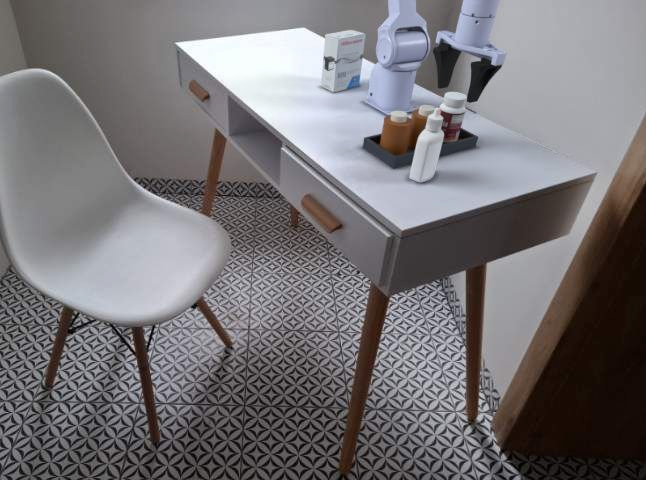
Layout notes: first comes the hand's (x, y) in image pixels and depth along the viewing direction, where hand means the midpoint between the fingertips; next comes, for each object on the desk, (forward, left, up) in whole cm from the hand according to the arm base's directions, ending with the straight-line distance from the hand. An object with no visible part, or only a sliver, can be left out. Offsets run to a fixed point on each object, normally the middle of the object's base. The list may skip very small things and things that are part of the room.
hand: (456, 94), depth 95 cm
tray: (0, -7, -9) cm, 11 cm away
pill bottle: (0, -1, -9) cm, 9 cm away
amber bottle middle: (0, -7, -8) cm, 11 cm away
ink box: (-34, -2, -9) cm, 35 cm away
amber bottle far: (0, -14, -8) cm, 16 cm away
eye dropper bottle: (+9, -14, -9) cm, 19 cm away
